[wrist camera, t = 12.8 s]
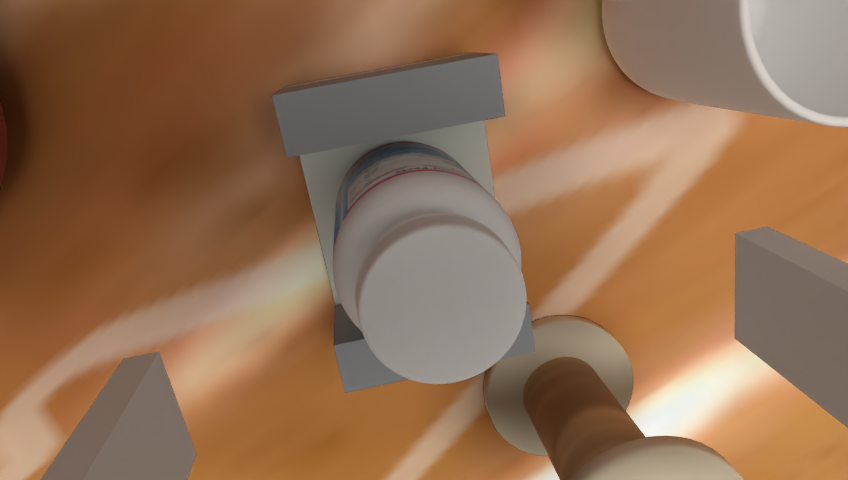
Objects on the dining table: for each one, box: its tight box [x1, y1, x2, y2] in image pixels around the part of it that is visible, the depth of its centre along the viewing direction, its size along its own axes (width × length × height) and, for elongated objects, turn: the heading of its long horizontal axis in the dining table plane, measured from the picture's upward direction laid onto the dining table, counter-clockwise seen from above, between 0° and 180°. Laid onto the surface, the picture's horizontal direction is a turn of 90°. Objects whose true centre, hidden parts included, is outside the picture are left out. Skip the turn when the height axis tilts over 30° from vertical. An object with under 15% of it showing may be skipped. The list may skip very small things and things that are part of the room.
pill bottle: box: [333, 141, 527, 384], centre depth 21 cm, size 6×6×11 cm
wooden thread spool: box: [483, 315, 744, 480], centre depth 26 cm, size 8×8×11 cm
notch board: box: [272, 53, 535, 393], centre depth 25 cm, size 12×8×5 cm, turn 10°
